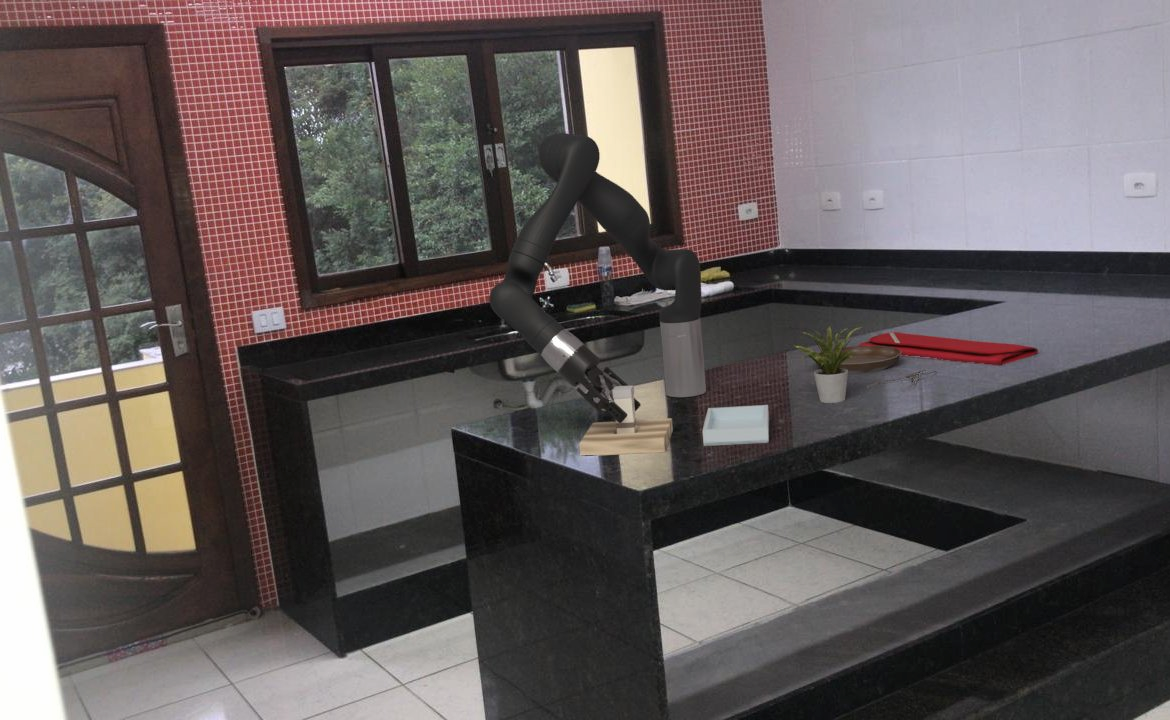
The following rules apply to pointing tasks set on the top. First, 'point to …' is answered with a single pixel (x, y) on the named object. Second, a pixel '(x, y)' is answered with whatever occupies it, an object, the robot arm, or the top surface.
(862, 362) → the plant saucer
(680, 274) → the robot arm
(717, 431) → the parts tray
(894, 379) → the pliers
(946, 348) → the dish drying mat
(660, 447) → the wooden board with hole
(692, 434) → the top surface
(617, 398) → the block
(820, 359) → the house plant
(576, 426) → the top surface
